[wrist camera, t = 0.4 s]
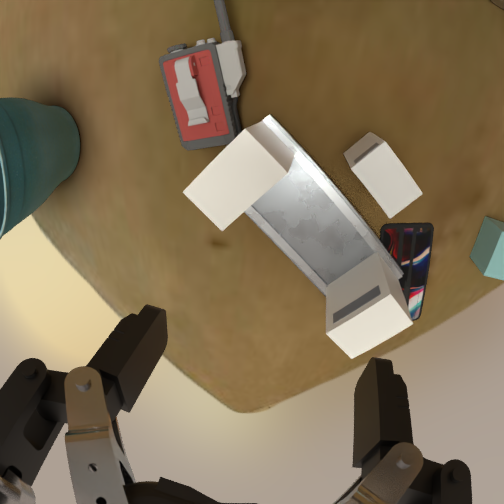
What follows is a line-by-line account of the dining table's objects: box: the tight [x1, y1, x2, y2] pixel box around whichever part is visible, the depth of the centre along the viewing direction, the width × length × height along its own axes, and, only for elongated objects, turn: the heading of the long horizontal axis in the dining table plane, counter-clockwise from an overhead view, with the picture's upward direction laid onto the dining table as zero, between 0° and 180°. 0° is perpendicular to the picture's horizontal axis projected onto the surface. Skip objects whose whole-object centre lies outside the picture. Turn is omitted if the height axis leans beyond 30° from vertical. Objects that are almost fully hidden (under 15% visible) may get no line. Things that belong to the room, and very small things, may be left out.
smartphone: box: [380, 223, 434, 321], centre depth 38 cm, size 7×1×15 cm
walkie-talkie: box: [159, 0, 246, 150], centre depth 28 cm, size 9×4×20 cm
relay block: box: [470, 216, 504, 280], centre depth 31 cm, size 5×6×7 cm
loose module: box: [343, 132, 423, 218], centre depth 29 cm, size 4×6×8 cm
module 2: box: [326, 252, 413, 359], centre depth 34 cm, size 8×5×9 cm, turn 134°
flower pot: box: [0, 98, 80, 239], centre depth 31 cm, size 18×18×17 cm
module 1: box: [183, 121, 295, 231], centre depth 30 cm, size 8×5×9 cm, turn 135°
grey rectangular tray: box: [244, 114, 404, 296], centre depth 37 cm, size 10×25×2 cm, turn 45°
